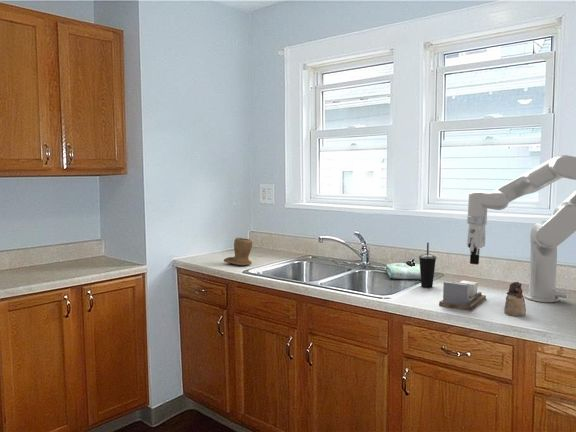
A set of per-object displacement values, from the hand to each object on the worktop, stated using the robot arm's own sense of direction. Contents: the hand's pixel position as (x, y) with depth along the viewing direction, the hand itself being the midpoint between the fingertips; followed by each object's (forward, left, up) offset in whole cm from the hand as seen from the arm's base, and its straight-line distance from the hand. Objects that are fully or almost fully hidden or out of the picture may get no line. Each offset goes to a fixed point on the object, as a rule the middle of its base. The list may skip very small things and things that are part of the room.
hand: (474, 263), depth 204 cm
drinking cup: (+20, 0, -13) cm, 24 cm away
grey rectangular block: (-1, +24, -11) cm, 27 cm away
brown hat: (+123, +12, -13) cm, 125 cm away
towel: (+37, -16, -14) cm, 43 cm away
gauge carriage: (+1, +12, -11) cm, 17 cm away
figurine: (-21, +20, -13) cm, 31 cm away
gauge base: (-1, +16, -13) cm, 20 cm away
